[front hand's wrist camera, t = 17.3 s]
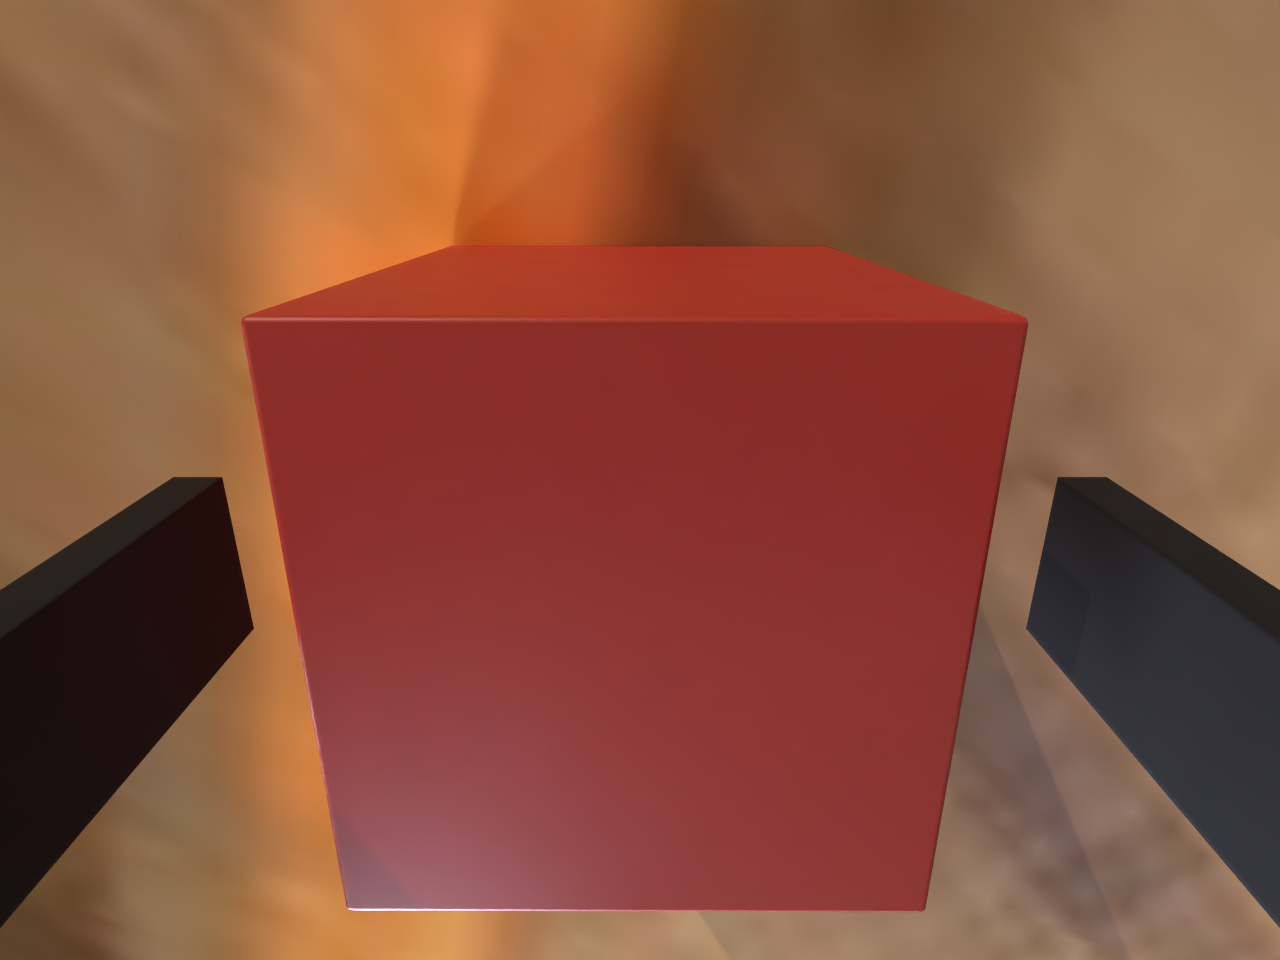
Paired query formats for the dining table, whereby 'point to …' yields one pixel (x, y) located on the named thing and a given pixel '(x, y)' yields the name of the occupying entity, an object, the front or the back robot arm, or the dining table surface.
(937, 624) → the block
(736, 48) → the dining table surface
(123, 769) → the front robot arm
